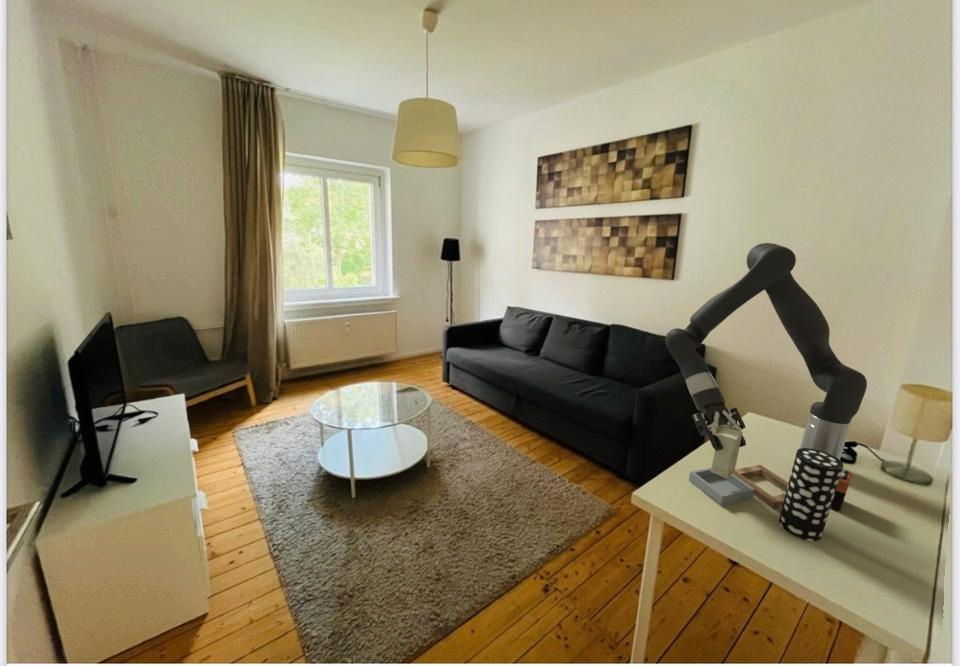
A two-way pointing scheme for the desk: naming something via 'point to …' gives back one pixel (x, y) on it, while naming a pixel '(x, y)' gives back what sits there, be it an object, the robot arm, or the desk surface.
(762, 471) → the brown flat rectangular frame
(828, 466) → the white-spotted black cylinder
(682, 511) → the desk surface
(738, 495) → the tray
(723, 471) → the skincare box
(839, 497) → the battery
